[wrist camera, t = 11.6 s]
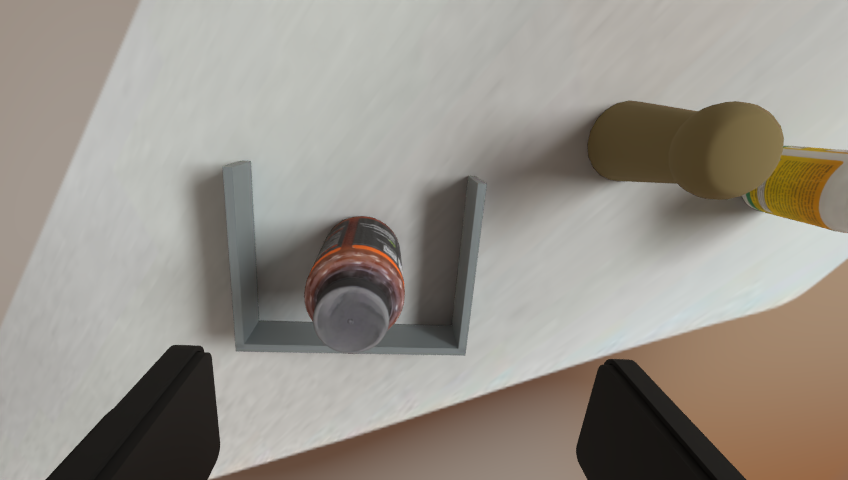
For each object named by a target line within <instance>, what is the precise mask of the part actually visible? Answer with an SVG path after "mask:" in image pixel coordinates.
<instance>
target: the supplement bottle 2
mask: <svg viewBox="0 0 848 480" xmlns="http://www.w3.org/2000/svg"><path fill="white" fill-rule="evenodd" d="M742 197H743V199H744V201H745V202H746V203H747V205H749V206H750V207H752V208H753V209H756V210H758V211H762V212H765V213H769V214H773V215H777V216H780V217H784V218H788V219H792V220H796V221H800V222H804V223H807V224H811V225H815V226H819V227H822V228H826V229H829V230H833V231H838V232H843V233H848V150H835V149H823V148H811V147H798V146H783V152H782V155H781V158H780V160H779V163H778V165H777V167H776V168H775V170H774V171H773V173H772V174H771V176H770V177H769V178H768V179H767V180H766V181H765V182H764V183H763V184H762V185H760V186H759V187H758V188H756V189H754V190H752V191H750V192H748V193H746V194H744V195H742Z"/></svg>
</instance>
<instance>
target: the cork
mask: <svg viewBox="0 0 848 480" xmlns="http://www.w3.org/2000/svg"><path fill="white" fill-rule="evenodd" d="M783 141H784V137H783V133H782V129H781V126H780V124H779V123H778V122H777V120H776V119H775V118H774V116H773V115H772V114H771V113H770V112H768V111H767V110H765V109H763V108H762V107H760V106H758V105H755V104H751V103H744V102H736V101H735V102H725V103H720V104H716V105H712V106H709V107H706V108H704V109H702V110H700V111H692V110H686V109H680V108H674V107H668V106H662V105H656V104H650V103H644V102H637V101H626V102H621V103H617V104H615V105H614V106H612V107H610V108H609V109H607V110H606V111H605V112H604V113H603V114H602V115H601V116H600V117H599V118H598V119H597V120H596V122H595V124H594V126H593V128H592V130H591V131H590V136H589V140H588V156H589V159H590V161H591V164H592V166H593V168H594V169H595V170H596V171H597V172H598V173H599V174H600V175H601V176H603V177H605V178H607V179H609V180H616V181H632V182H655V183H677V184H679V186H680V187H682V188H683V189H684V190H686V191H688V192H690V193H692V194H694V195H696V196H698V197H702V198H705V199H716V200H723V199H730V198H735V197H739V196H742V195H744V194H746V193H748V192H750V191H752V190H754V189H756V188H758V187H759V186H760V185H762V184H763V183H764V182H765V181H766V180H767V179H768V178H769V177H770V176H771V174H772V173H773V171H774V170H775V168H776V167H777V165H778V163H779V160H780V158H781V155H782V152H783Z"/></svg>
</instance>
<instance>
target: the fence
mask: <svg viewBox="0 0 848 480" xmlns="http://www.w3.org/2000/svg"><path fill="white" fill-rule="evenodd" d="M223 181H224V194H225V208H226V222H227V236H228V249H229V263H230V277H231V291H232V304H233V318H234V332H235V346H236V351H244V352H299V353H341V352H338V351H335V350H333V349H331V348H329V347H328V346H326V345H325V344H324V343H323V342H322V341H321V340H320V339H319V338H318V336H317V334H316V332H315V329H314V326H313V322H287V321H259V311H258V291H257V272H256V252H255V233H254V214H253V194H252V175H251V161H240V162H236V163H233V164H229V165H226V166H223ZM486 186H487V184H486V183H485V182H483V181H482V180H480V179H479V178H477V177H476V176H468V182H467V191H466V200H465V210H464V219H463V228H462V237H461V246H460V255H459V264H458V273H457V282H456V291H455V300H454V309H453V318H452V326H441V325H402V324H393V325H392V327H391V328H390V329H389V330H388V331H387V332H386V334H385V336H384V337H383V339H382V340H381V341H380V342H379V344H377V345H376V346H375V347H373V348H371V349H369V350H367V351H364V352H361V353H355V354H411V355H465V354H466V346H467V338H468V330H469V322H470V314H471V306H472V298H473V290H474V282H475V274H476V266H477V258H478V250H479V242H480V234H481V226H482V218H483V210H484V202H485V194H486Z"/></svg>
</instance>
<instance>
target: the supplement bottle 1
mask: <svg viewBox="0 0 848 480" xmlns="http://www.w3.org/2000/svg"><path fill="white" fill-rule="evenodd" d="M304 294H305V295H304V297H305V305H306V309H307V312H308V314H309V316H310V318H311V319H312V321H313V326H314V329H315V332H316V334H317V336H318V338H319V339H320V340H321V341H322V342H323V343H324V344H325V345H326V346H328V347H329V348H331V349H333V350H335V351H338V352H341V353H348V354H355V353H361V352H364V351H367V350H369V349H371V348H373V347H375V346H376V345H377V344H379V342H380V341H381V340H382V339H383V337H384V336H385V334H386V332H387V331H388V330H389V329H390V328H391V327H392V325H393V324H394V323H395V322H396V320H397V319H398V318H399V316H400V314H401V311H402V308H403V305H404V295H405V290H404V279H403V271H402V262H401V253H400V247H399V243H398V240H397V238H396V236H395V234H394V233H393V231H392V230H391V229H390V228H389V227H388V226H387V225H386V224H384V223H383V222H381V221H379V220H377V219H375V218H371V217H365V216H359V217H352V218H348V219H346V220H344V221H342V222H340V223H339V224H338V225H336V226H335V227H334V228H333V229H332V230H331V232H330V233H329V235H328V236H327V237H326V240H325V242H324V244H323V246H322V248H321V250H320V252H319V255H318V257H317V259H316V261H315V263H314V265H313V267H312V270H311V272H310V274H309V276H308V279H307V281H306V286H305V292H304Z"/></svg>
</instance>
